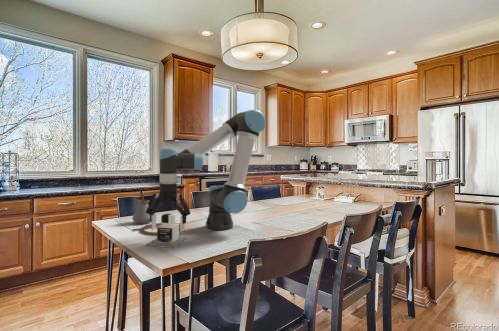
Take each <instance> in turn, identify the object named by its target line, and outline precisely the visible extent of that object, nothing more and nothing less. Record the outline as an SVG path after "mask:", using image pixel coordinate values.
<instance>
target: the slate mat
mask: <svg viewBox="0 0 499 331" xmlns="http://www.w3.org/2000/svg"><path fill="white" fill-rule="evenodd" d="M186 239H187V240H188V239H189V237H188V236H179V239H178V240H176V241H175V242H173V243H160V242H157V237H156V238H154V239H152V240H150V241H149V242H148V243H146V244H145V247H154V246H164V247H163V248H169V247H177V246H178V247H180V246H181V245H182V244H183V243H185V242H186V241H187V240H186ZM185 240H186V241H185ZM184 241H185V242H184ZM181 243H182V244H181ZM180 244H181V245H180ZM179 245H180V246H179ZM178 247H177V248H178Z"/></svg>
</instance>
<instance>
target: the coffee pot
mask: <svg viewBox="0 0 499 331" xmlns="http://www.w3.org/2000/svg"><path fill="white" fill-rule="evenodd" d="M140 196H141V199H138V200H137V207H136V209H135V212H134V213H133V215H132V221H133V222H135V224H137V223H138V224H137V225H147V224H149V223H151V222H150V214H148V213H146V210H147V208H148V206H149V204H150V202H151V200H149V199H145V193H141V195H140ZM146 223H147V224H146Z"/></svg>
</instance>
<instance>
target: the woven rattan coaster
mask: <svg viewBox="0 0 499 331" xmlns="http://www.w3.org/2000/svg"><path fill="white" fill-rule="evenodd" d="M175 224H177V223H176V222H175ZM178 224H179V223H178ZM160 225H162V224H161V222H156V227H158V226H160ZM148 228H152V223H151V224H145V225H144V226H141V227H140V233H141V234H143V235H146V236H157V231H148V230H146V229H148ZM179 232H181V231H180V224H179Z"/></svg>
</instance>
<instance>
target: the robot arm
mask: <svg viewBox="0 0 499 331" xmlns="http://www.w3.org/2000/svg"><path fill="white" fill-rule="evenodd" d="M266 122H267V121H266V118H265V116H264V113H263V112H262V111H260V110H258V109H249V110H245V111H242V112H238V113H236V114H234V115H232V117H230V118H229V119H228V120H226V121H225V122H223V123H222V124H221V126H220V127H218V128H217V129H215V130H213V131H212V132H210V133H209V134H207V135H206V136H204V137H202V138H201V139H199V140H198V141H195V143H193V144H191V145H190V146H188V147H187V148H185V149H183V150H182V151H181V152H178V149H177V148H161V149H160V150H159V180H158V181H159V193H158V192H154V193H152V197H151V200H150V201H149V203H148V205H149V206H148V208H147V210H146V213H148V214H150V223H151V224H152V227H151V230H152V231H154V230H157V226H156V223H157V214H156V212H157V211H158V210H159V209H160V207H161V206H162V205H165V204H168V205H173V206H174V207H175V209H177V211H178V213H179V214H180V215H181V216H180V218H179V219H180V221H179V222H180V231H179V232H183V231H185V225H186V223H187V216H189V215H191V210H190V208H189V206H188V204H187V202H186V200H185V195H184V193H181V194H178V192H177V191H178V184H177V182H178V170H194V171H195V170H201V169H202V168H203V166H204V159H203V158H204V157H203V156H204V155H205V154H207V153H209V152H210V151H212V150H214V148H216V147H217V146H219V145H221V144H222V143H224V142H225V141H227V140H228V139H233V138H235V137H236V136H237V137H238V138H237V143H236V146H235V152H234V155H233V158H232V159H233V160H232V163H231V168H230V171H229V176H228V180H227V181H225V183H224V184H223V185H220V184H219V185H211V186H210V187H209V188H208V189H209V190H208V194H209V195H208V200H209V201H208V215H207V218H206V221H205V228H206V229H209V230H213V231H226V230H231V229H233V228H232V227H234V221H233V218H232V215H231V214H240V213H241V212H242V211H243V212H244V210H245V209H246V207H247V206H248V205H247V204H248V197H247V195H246V194H247V193H246V191H247V188H246V186H245V183H246V179H247V174H248V171H249V166H250V162H251V158H252V155H253V154H252V153H253V149H254V145H255V142H256V140H258V139H259V137H260V133H261V132H262V131H264V129H265V128H266V124H267V123H266ZM157 199H160V200H158V201H157ZM178 200H179V201H178ZM156 202H157V203H156ZM179 202H180V203H179ZM155 203H156V205H155ZM230 228H231V229H230ZM225 229H226V230H225Z"/></svg>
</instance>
